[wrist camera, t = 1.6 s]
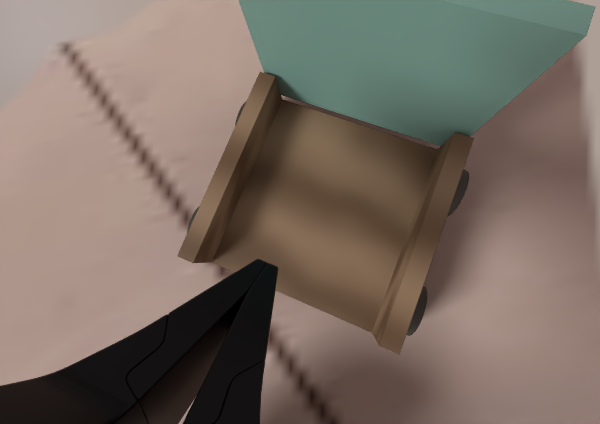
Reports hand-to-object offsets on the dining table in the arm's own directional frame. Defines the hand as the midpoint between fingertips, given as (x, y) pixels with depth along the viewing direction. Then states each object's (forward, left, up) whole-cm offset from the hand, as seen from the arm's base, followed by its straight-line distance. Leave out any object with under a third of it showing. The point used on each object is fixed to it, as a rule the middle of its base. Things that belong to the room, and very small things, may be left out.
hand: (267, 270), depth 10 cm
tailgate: (+11, -6, -11) cm, 17 cm away
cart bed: (+4, -2, -14) cm, 14 cm away
